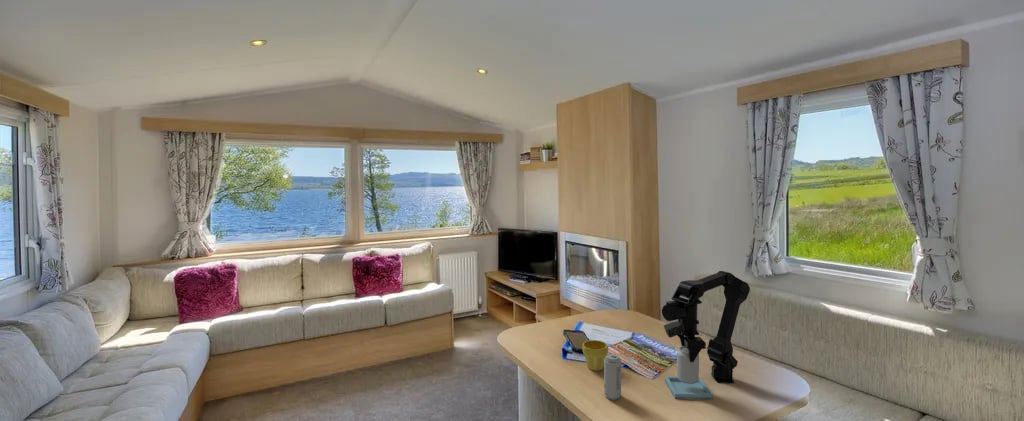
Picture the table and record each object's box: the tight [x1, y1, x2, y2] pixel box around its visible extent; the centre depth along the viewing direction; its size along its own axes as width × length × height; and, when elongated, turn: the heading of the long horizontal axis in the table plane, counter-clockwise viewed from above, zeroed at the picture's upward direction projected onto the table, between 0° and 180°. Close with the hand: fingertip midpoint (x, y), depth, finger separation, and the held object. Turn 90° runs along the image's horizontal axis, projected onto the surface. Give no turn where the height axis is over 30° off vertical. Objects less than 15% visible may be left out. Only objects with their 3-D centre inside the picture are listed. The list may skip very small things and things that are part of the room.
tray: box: [664, 375, 714, 400], centre depth 158 cm, size 13×13×2 cm
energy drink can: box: [603, 353, 622, 401], centre depth 154 cm, size 6×6×15 cm
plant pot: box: [582, 339, 609, 372], centre depth 177 cm, size 10×10×10 cm
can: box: [676, 345, 700, 384], centre depth 158 cm, size 8×8×12 cm
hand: (688, 357), depth 157 cm, fingers closed on can, 7 cm apart
